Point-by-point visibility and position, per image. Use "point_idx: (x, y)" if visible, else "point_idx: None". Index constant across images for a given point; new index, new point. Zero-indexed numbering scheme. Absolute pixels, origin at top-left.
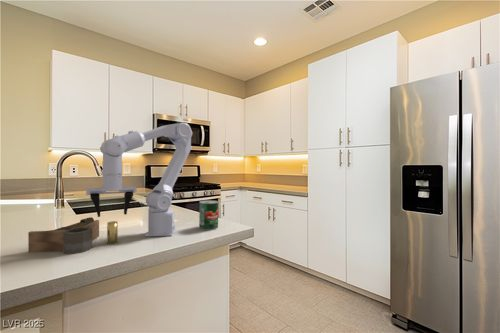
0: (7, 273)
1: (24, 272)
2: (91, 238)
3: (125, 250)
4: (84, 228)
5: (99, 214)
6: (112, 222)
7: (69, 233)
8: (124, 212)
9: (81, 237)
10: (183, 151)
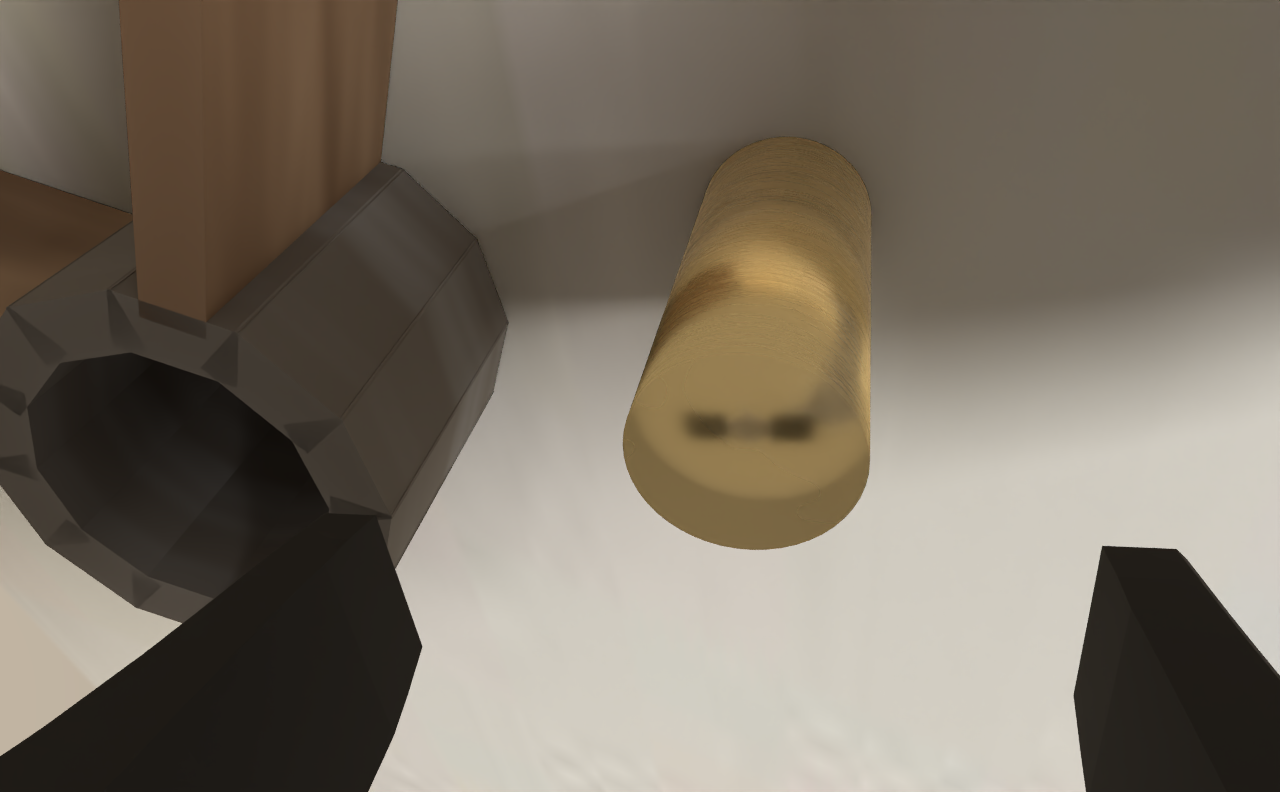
0: (50, 624)
1: None
2: (454, 422)
3: (943, 611)
4: (222, 376)
5: (385, 717)
6: (744, 483)
7: (150, 608)
8: (1084, 773)
9: None
10: None
